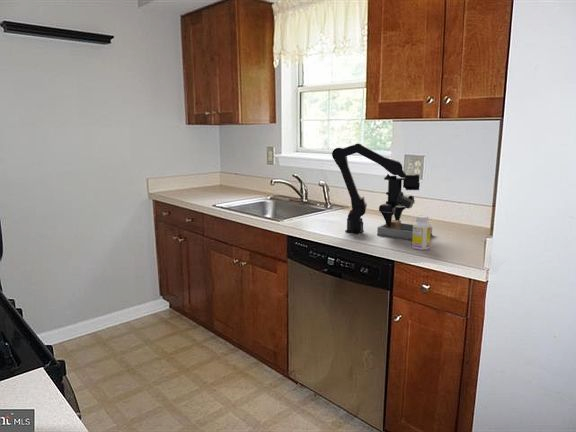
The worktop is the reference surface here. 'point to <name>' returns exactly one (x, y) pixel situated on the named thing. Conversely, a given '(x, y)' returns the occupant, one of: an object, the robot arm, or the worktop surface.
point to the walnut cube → (395, 225)
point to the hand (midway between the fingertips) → (393, 224)
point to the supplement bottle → (421, 233)
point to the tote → (398, 231)
